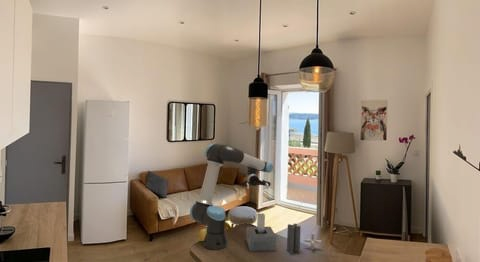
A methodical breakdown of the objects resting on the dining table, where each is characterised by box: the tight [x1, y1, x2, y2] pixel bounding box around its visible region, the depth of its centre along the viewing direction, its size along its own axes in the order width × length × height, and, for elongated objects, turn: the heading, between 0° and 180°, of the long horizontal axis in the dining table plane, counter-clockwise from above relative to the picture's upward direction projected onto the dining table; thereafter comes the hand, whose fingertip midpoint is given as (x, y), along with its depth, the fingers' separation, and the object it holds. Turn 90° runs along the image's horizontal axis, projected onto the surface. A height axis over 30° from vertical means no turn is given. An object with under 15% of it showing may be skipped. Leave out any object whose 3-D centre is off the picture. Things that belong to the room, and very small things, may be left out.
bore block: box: [246, 226, 277, 252], centre depth 188 cm, size 16×16×9 cm
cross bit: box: [286, 223, 302, 255], centre depth 181 cm, size 8×8×16 cm
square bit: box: [256, 213, 266, 234], centre depth 188 cm, size 4×4×20 cm
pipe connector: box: [304, 232, 322, 250], centre depth 184 cm, size 10×10×10 cm
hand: (258, 186), depth 201 cm, fingers open, 13 cm apart
